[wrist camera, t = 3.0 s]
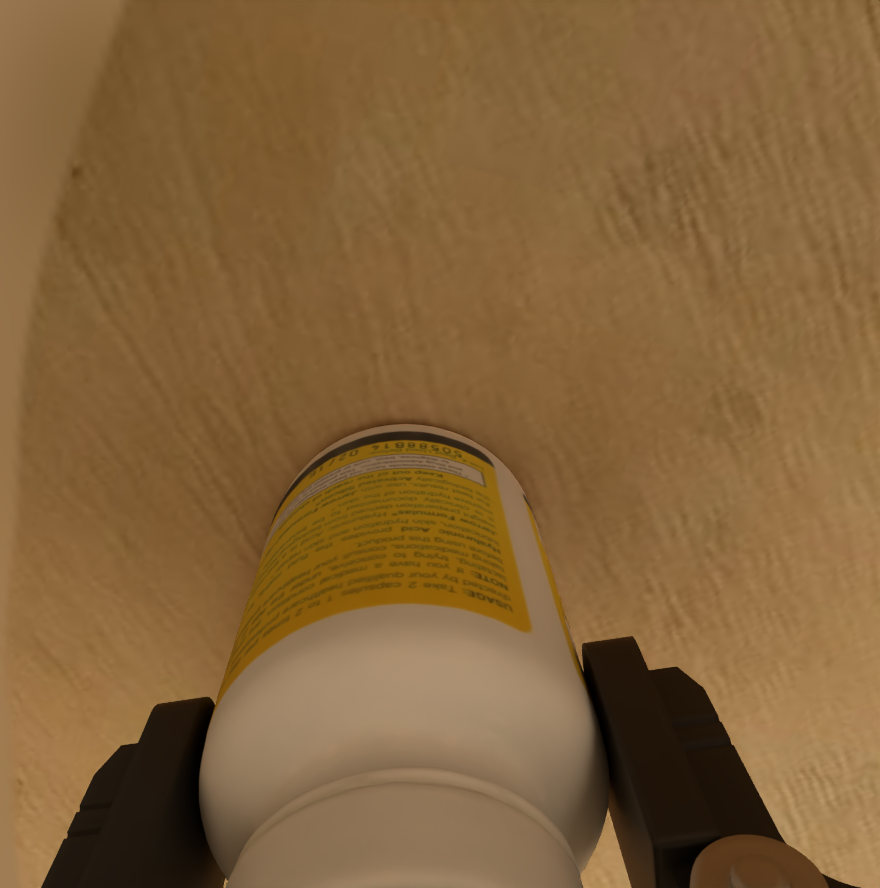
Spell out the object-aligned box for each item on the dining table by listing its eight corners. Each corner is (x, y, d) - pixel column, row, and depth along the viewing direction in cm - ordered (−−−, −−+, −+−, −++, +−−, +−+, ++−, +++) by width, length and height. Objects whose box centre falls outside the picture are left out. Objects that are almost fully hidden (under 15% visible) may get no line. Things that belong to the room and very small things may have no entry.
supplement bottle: (218, 527, 17) (0, 1014, 8) (421, 362, 16) (448, 705, 7) (390, 689, 18) (379, 1246, 9) (585, 551, 17) (786, 1031, 8)
